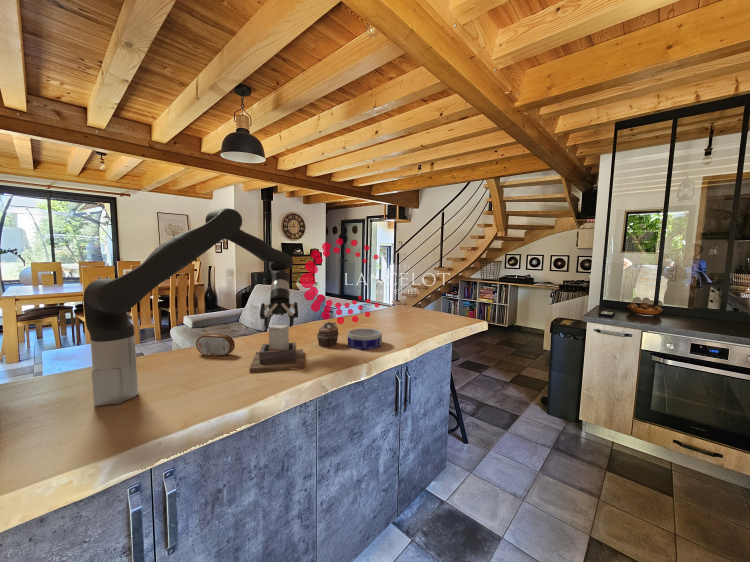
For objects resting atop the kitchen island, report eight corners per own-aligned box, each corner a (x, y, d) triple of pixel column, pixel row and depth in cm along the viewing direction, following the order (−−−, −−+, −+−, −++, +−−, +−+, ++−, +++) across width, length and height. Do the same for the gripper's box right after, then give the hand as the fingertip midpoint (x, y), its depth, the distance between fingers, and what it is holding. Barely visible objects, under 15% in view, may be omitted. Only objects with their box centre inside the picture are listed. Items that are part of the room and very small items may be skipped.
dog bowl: (355, 339, 147) (355, 326, 147) (385, 342, 143) (385, 329, 142) (341, 348, 133) (341, 334, 132) (375, 351, 128) (375, 337, 128)
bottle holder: (303, 368, 109) (303, 352, 108) (249, 372, 104) (249, 356, 104) (303, 352, 126) (302, 339, 126) (256, 355, 122) (256, 342, 121)
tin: (235, 354, 124) (234, 333, 123) (231, 357, 120) (230, 336, 120) (200, 353, 125) (199, 332, 124) (195, 355, 122) (194, 334, 121)
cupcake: (323, 340, 144) (323, 319, 143) (342, 342, 141) (342, 321, 140) (312, 346, 135) (312, 324, 134) (332, 348, 132) (332, 325, 131)
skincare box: (268, 358, 114) (268, 326, 113) (275, 354, 118) (275, 324, 117) (282, 360, 113) (282, 328, 112) (289, 356, 117) (289, 325, 116)
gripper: (260, 287, 122) (258, 322, 112) (297, 286, 126) (298, 320, 116) (262, 299, 128) (260, 332, 118) (297, 297, 131) (298, 330, 121)
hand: (279, 326), depth 117 cm, fingers open, 8 cm apart
